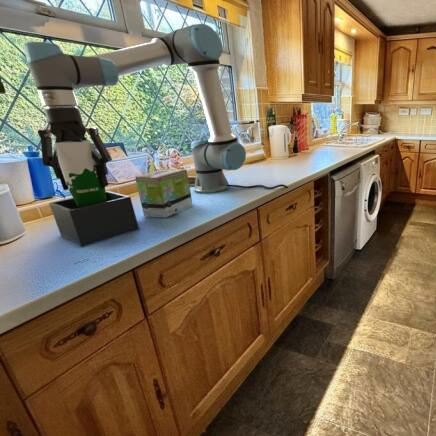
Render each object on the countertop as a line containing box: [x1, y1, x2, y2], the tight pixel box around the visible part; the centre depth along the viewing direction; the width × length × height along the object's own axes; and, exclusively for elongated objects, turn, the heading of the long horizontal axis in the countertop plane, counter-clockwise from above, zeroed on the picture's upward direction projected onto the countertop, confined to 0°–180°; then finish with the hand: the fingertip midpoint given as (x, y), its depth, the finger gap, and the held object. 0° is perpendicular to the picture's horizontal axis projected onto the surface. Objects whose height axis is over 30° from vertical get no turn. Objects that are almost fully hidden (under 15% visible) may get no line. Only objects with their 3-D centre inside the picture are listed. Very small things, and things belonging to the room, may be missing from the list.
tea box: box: [134, 168, 194, 219], centre depth 111 cm, size 15×10×15 cm
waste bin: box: [48, 190, 140, 248], centre depth 93 cm, size 16×16×11 cm
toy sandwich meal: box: [188, 175, 196, 187], centre depth 155 cm, size 12×14×5 cm
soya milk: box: [54, 139, 107, 207], centre depth 88 cm, size 9×9×20 cm
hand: (86, 187), depth 90 cm, fingers closed on soya milk, 9 cm apart
